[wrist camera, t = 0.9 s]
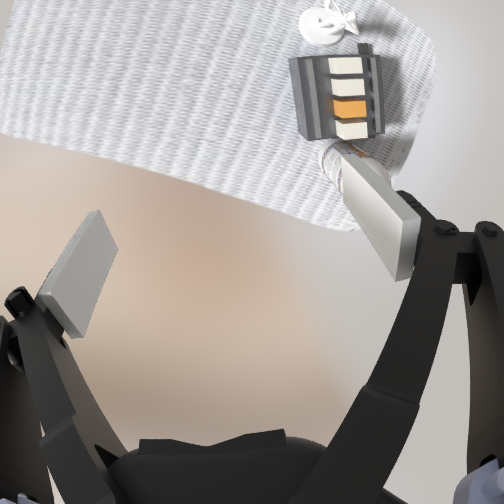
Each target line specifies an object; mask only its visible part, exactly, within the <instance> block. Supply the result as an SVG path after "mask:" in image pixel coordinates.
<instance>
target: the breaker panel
mask: <svg viewBox="0 0 504 504" xmlns="http://www.w3.org/2000/svg"><path fill="white" fill-rule="evenodd" d="M346 57H361V61H362V70H363V73H352V74H332V73H330V68H329V60H328V58H346ZM288 61H289V67H290V73H291V80H292V86H293V93H294V100H295V107H296V115H297V122H298V130H299V133H300V134H301V135H302V136H303V137H304V138H305V139H306V140H307V141H313V140H321V139H329V138H338V137H339V136H337V132H336V121H335V120H343V119H355V118H359V119H361V120H363V121H365V122H367V134H368V135H370V134H384V133H385V122H384V103H383V88H382V77H381V66H380V57H379V55H326V56H309V57H297V58H290V59H288ZM338 78H360V79H363V80H364V90H365V95H354V96H338V95H334V94H333V92H332V83H331V79H338ZM350 98H358V99H361V100H365V102H366V116H367V117H353V118H341V117H339V116H337V115H335V110H334V101H333V100H335V99H350Z"/></svg>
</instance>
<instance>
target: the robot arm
mask: <svg viewBox="0 0 504 504" xmlns="http://www.w3.org/2000/svg"><path fill="white" fill-rule="evenodd" d="M341 166H342V182H343V202H344V204H345V205H346V207H347V208H348V209H349V211H350V212H351V214H352V215H353V217H354V218H355V220H356V221H357V223H358V224H359V226H360V227H361V229H362V230H363V231H364V233H365V235H366V236H367V238H368V239H369V241H370V242H371V244H372V245H373V247H374V248H375V250H376V252H377V253H378V255H379V256H380V258H381V259H382V261H383V263H384V264H385V266H386V268H387V269H388V271H389V272H390V274H391V276H392V277H393V279H394V281H395V282H397V281H401V280H404V279H408V278H411V279H410V282H409V285H408V288H407V291H406V293H405V296H404V299H403V301H402V304H401V307H400V309H399V312H398V314H397V317H396V319H395V322H394V324H393V327H392V329H391V332H390V334H389V336H388V339H387V341H386V343H385V346H384V348H383V350H382V352H381V355H380V357H379V359H378V361H377V364H376V365H375V367H374V370H373V372H372V374H371V376H370V378H369V380H368V382H367V383H366V385H365V386H363V387H362V388H361V390H360V392H359V393H358V395H357V397H356V399H355V401H354V402H353V404H352V406H351V408H350V410H349V412H348V413H347V415H346V417H345V418H344V420H343V422H342V424H341V425H340V427H339V429H338V430H337V432H336V434H335V436H334V437H333V439H332V440H331V442H330V444H329V445H328V447H327V448H326V447H325V446H323V445H321V444H318V443H316V442H314V441H310V440H306V439H303V438H297V437H286V434H285V431H284V429H279V430H272V431H266V432H259V433H251V434H244V435H242V436H239V437H236V438H233V439H230V440H227V441H224V442H221V443H218V444H215V445H212V446H200V445H195V444H190V443H185V442H181V441H177V440H172V439H140V442H139V448H138V449H135V450H132V451H130V452H128V451H127V450H126V449H125V447H124V446H123V445H122V443H121V442H120V440H119V439H118V437H117V436H116V434H115V433H114V431H113V429H112V428H111V426H110V425H109V423H108V421H107V420H106V418H105V416H104V415H103V413H102V411H101V409H100V408H99V406H98V404H97V402H96V401H95V399H94V397H93V395H92V393H91V391H90V390H89V388H88V386H87V384H86V382H85V380H84V378H83V376H82V374H81V372H80V370H79V368H78V366H77V364H76V362H75V360H74V358H73V356H72V353H71V351H70V349H69V347H68V344H67V342H66V341H65V340H64V338H63V337H62V334H63V332H64V330H65V331H66V333H67V334H68V335H69V336H70V337H71V338H72V339H73V338H83V337H84V336H85V333H86V330H87V327H88V324H89V321H90V319H91V316H92V313H93V310H94V308H95V305H96V303H97V300H98V297H99V295H100V292H101V290H102V287H103V284H104V282H105V280H106V277H107V275H108V272H109V270H110V268H111V265H112V263H113V261H114V258H115V256H116V254H117V251H118V248H117V246H116V243H115V242H114V239H113V237H112V235H111V233H110V231H109V229H108V227H107V225H106V222H105V220H104V218H103V216H102V214H101V212H100V210H97V211H93V212H90V213H88V215H87V216H86V218H85V219H84V220H83V222H82V223H81V225H80V227H79V228H78V229H77V231H76V232H75V234H74V235H73V237H72V238H71V240H70V241H69V243H68V244H67V246H66V247H65V249H64V251H63V252H62V254H61V255H60V257H59V259H58V260H57V262H56V264H55V265H54V267H53V268H52V270H51V271H50V272H49V274H48V276H47V279H46V280H45V281H44V283H43V285H42V286H41V288H40V290H39V292H38V293H37V296H36V297H35V299H34V300H33V298H32V297H31V296H30V294H29V293H28V291H27V290H26V288H25V287H23V286H21V287H18V288H17V289H15V290H13V291H12V292H11V293H10V294H9V296H8V297H7V298H6V300H5V303H4V305H5V307H6V308H7V309H8V311H9V312H10V313H11V315H12V316H13V317H14V318H15V320H13V321H11V322H8V321H7V320H6V319H5V318H4V317H3V316H0V504H54V496H53V493H52V487H51V482H50V478H49V473H48V468H49V471H50V473H51V475H52V477H53V480H54V482H55V484H56V486H57V488H58V490H59V492H60V495H61V496H62V499H63V501H64V502H65V504H408V503H406V502H404V501H403V500H401V499H400V498H398V497H396V496H395V495H393V494H392V493H390V492H389V491H387V490H386V489H384V488H383V486H384V484H385V482H386V481H387V479H388V477H389V475H390V473H391V471H392V469H393V467H394V465H395V463H396V461H397V459H398V457H399V455H400V453H401V451H402V449H403V447H404V444H405V442H406V440H407V438H408V435H409V433H410V431H411V429H412V426H413V424H414V421H415V419H416V416H417V414H418V410H419V407H420V405H419V403H420V399H421V396H422V394H423V391H424V388H425V385H426V382H427V379H428V377H429V373H430V370H431V367H432V364H433V361H434V357H435V354H436V351H437V347H438V344H439V340H440V336H441V332H442V329H443V325H444V321H445V316H446V311H447V308H448V303H449V298H450V293H451V288H452V284H462V288H463V294H464V302H465V309H466V318H467V328H468V339H469V356H470V418H469V419H470V420H469V433H468V445H467V476H465V477H464V478H463V479H462V480H461V481H460V483H459V484H458V485H457V488H456V490H455V493H454V499H453V504H504V231H503V230H502V229H501V228H500V227H499V226H498V225H497V224H495V223H493V222H488V221H481V222H478V223H477V224H476V226H475V231H474V232H459V229H458V228H457V227H456V225H454V224H453V223H451V222H448V221H446V220H437V219H436V218H435V217H434V216H433V215H432V214H431V213H430V212H429V211H428V210H427V209H426V208H425V207H423V206H422V205H421V203H420V202H418V201H417V200H416V199H415V198H414V197H413V196H412V195H411V194H409V193H407V192H405V191H403V190H400V191H394V190H393V189H392V188H391V187H390V186H389V185H388V184H387V183H386V182H385V181H384V180H383V179H382V178H381V177H380V176H379V175H378V174H377V173H375V172H374V171H373V170H372V169H371V168H370V167H369V166H368V165H367V164H366V163H364V162H363V161H362V160H361V159H360V158H359V157H358V156H357V155H355V154H348V155H341ZM414 266H415V267H414ZM413 268H414V270H413ZM9 360H10V361H11V362H12V363H13V365H12V364H11V362H10V361H9ZM40 422H41V425H42V427H43V430H44V432H45V436H44V437H42V433H41V425H40ZM47 466H48V468H47Z"/></svg>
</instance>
